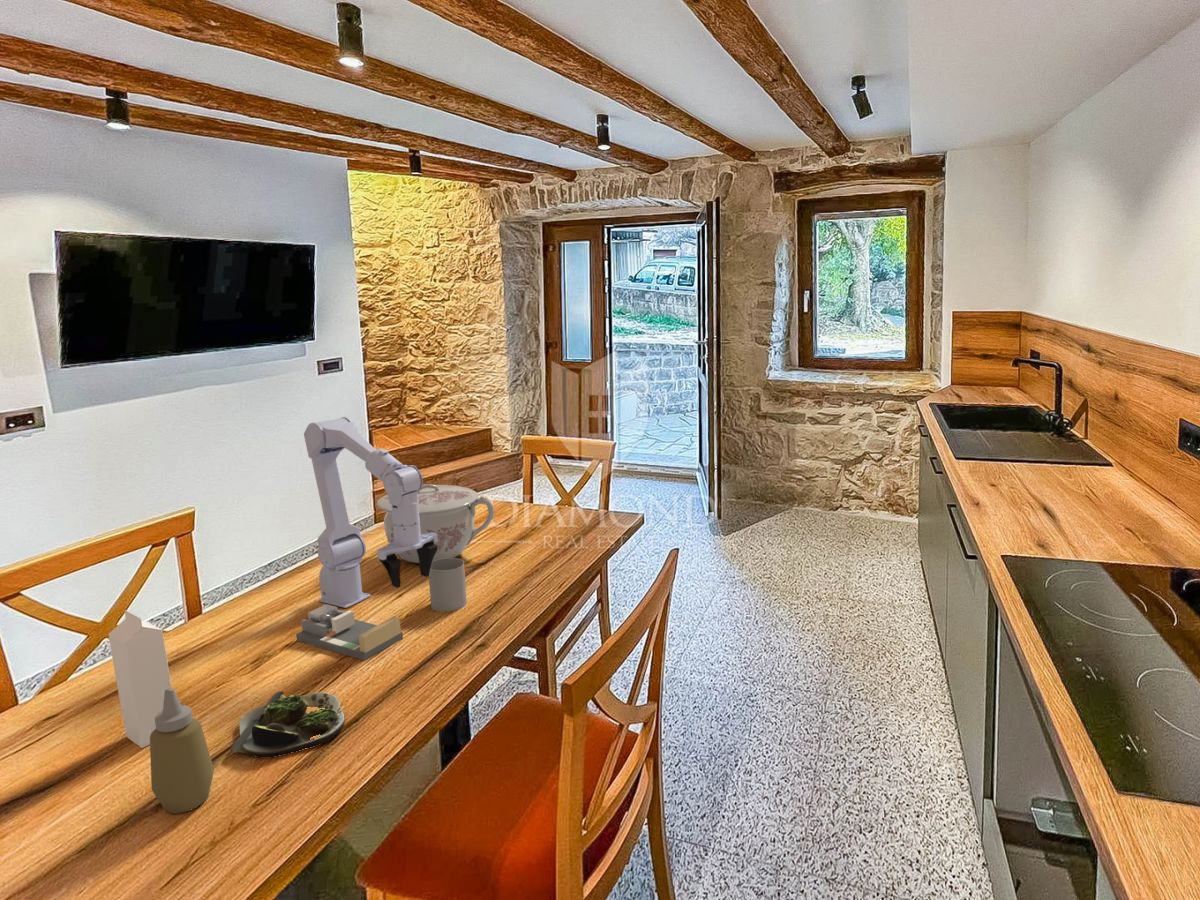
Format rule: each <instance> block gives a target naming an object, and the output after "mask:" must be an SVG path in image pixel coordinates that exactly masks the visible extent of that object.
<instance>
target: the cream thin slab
mask: <svg viewBox="0 0 1200 900" xmlns="http://www.w3.org/2000/svg"><path fill="white" fill-rule="evenodd" d="M354 612H355V611H353V610H350V609H349V610H347V611H345V613H343V614H341V615H339V616H337V617H335V618H333V619H331V621H332V630H333V631H332V632H330V633H328V634H326V637H329V636H331V635H333V634H335V633H338V632H340V631H342V630H344V629H346V628H348V627H350V626H352V625H354V624H355V622H354V619H355V613H354Z"/></svg>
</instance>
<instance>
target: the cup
mask: <svg viewBox="0 0 1200 900" xmlns="http://www.w3.org/2000/svg"><path fill="white" fill-rule="evenodd" d="M465 569H466V568H465V561H464V560H463V559H461V558H456V557H454V558H444V559H438V560H435V561H432V564H431V568H430V573H429V577H428V582H429V596H430V608H431V609H432V610H434V611H436V610H437V612H441V611H446V612H453V611H458V610H460V609H462V607H463V608H464V607H465V606H466V605H467V604H468V601H467V588H466V572H465Z"/></svg>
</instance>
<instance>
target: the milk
mask: <svg viewBox="0 0 1200 900" xmlns="http://www.w3.org/2000/svg"><path fill="white" fill-rule="evenodd" d="M124 616H125V618H124V619H123V620H122V621H121V622H119V623H118V625H117V626H115V627H114V628H113V629H112V630H111V631H110V632H109V633H108V640H109V645H110V653H111V657H112V663H113V669H114V675H115V681H116V685H117V686H116V687H117V692H118V697H119V703H120V709H121V715H122V720H123V725H124V727H123V728H124V732H125V737H126V738H128V739H129V740H130V741H131V742H133V743H134V744H135V745H137V746H138V747H139V748H141V749H144V748H146V747H147V746H150V735H151V733H152V732H153V731H154V730H155V729H156V725H155V716H156V715H157V714H158V713H159V712H161V711H162V710H163V704H164V694H165V690H167V689H170V688H173V687H172V681H171V676H170V669H169V663H168V662H169V661H168V655H167V650H166V643H165V638H164V631H163V629H162V628H160V627H158V626H155V625H154V624H152V623H150V622H148V621H146V620H142V618H141V617H139V616H138V615H136V614H134V613H132V612H130V611H129V610H126V609H125V610H124Z"/></svg>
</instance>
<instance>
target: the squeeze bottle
mask: <svg viewBox="0 0 1200 900" xmlns="http://www.w3.org/2000/svg"><path fill="white" fill-rule="evenodd" d="M192 711H193V710H192V707H190V706H189V705H184V704H183V705H182V704H181V701H180V699H179V697H178V695H177V692H176V691H175V689H174V688H173V687H172V688H170V689H167V690H165V694H164V704H163V710H162V711H161V712H159V713H158V714H157V715H156V716H155V725H156V729H155V730H154V731H153V732H152V733H151V735H150V745H149V749H150V752H149V753H150V755H149V757H150V778H151V779H150V780H151V783H150V784H151V791H152V793H153V794H154V795H155V797H156V798H157V800H158V801H159V803H160V805H161V806H162V808H163V809H164V811H165V812H166V813H169V812H170V814H182V813H181V812H183V813H187V812H186V811H188V812H190V811H192V810H191V809H193V808H195V809H197V808H198V807H197V806H199V805H200V804H201V805H203V804H204V803H205V802H206V801H205V800H207V799H208V798H209V795H210V790H211V786H212V783H213V782H212V781H213V778H214V772H215V769H214V765H213V762H212V757H211V754H210V750H209V747H208V743H207V740H206V737H205V732H204V729H203V726H202V723H201V721H200V720H199V719H198V718H194V717H193V712H192ZM204 801H205V802H204ZM203 802H204V803H203ZM202 803H203V804H202ZM201 805H200V806H201ZM200 806H199V807H200ZM196 807H197V808H196ZM189 810H190V811H189ZM193 810H194V809H193Z"/></svg>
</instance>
